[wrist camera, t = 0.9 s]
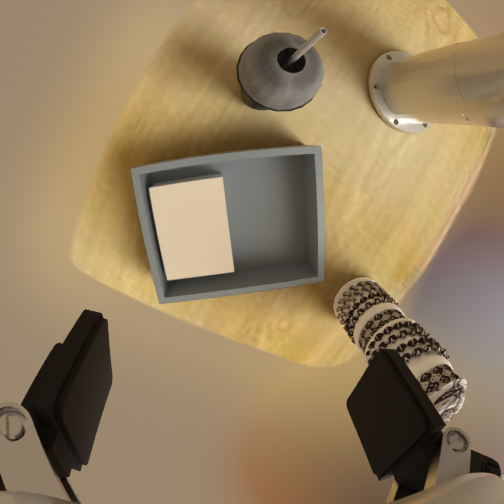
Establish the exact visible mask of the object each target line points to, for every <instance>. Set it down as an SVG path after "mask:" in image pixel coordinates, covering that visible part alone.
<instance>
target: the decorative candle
mask: <svg viewBox="0 0 504 504" xmlns="http://www.w3.org/2000/svg"><path fill="white" fill-rule="evenodd" d="M333 309H334V312H335V315H336V317H337V318H338V319H339V320H340V324H342V325H343V324H345V326H344V330H346V332H348V336H349V337H350V338H351V339H352V342H353V343H354V344H356V345H357V346H358V348H359V349H360V350H361V351H362V352H363V353H364V358H365V363H366V364H367V365H368V366H369V364H370V362H371V360H372V359H373V357H374V355H375V354H376V353H378V352H379V350H381V349H395V350H397V351H398V353H399V354H400V356H401V357H402V359H403V360H404V361H405V363H406V364H407V366H408V367H409V369H410V370H411V372H412V373H413V375H414V376H415V378H416V379H417V380H418V382H419V383H420V385H421V386H422V388H423V389H424V391H425V393H426V394H427V396H428V397H429V399H430V400H431V402H432V403H433V405H434V406H435V408H436V409H437V411H438V413H439V414H440V416H441V417H442V419H443V421H444V422H445V424H446V423H447V422H448V421H449V420H451V419H452V418H453V417H454V416H455V415H456V414H457V413H458V411H459V410H460V408H461V407H462V405H463V402H464V399H465V389H466V387H467V382H466V380H465V379H461V378H459V376H458V375H457V373H456V372H455V371H454V370H453V368H452V366H451V364H450V363H449V356H448V355H446V354H447V351H446V349H444V348H442V349H441V346H440V344H439V343H438V342H435V339H434V338H430V334H429V333H425V331H424V329H423V328H422V327H420V325H419V324H417V323H416V322H415V321H414V320H412V319H409V318H406V317H405V315H404V314H403V312H402V310H400V308H399V304H398V303H395V300H394V299H393V298H390V296H389V294H388V293H387V292H386V291H385V290H384V289H383V288H382V287H381V286H380V285H379V284H378V283H376V282H375V281H374V280H373V279H370V278H368V277H357V278H355V279H353V280H351V281H348V282H347V283H346V284H345V285H344V286H343V287H342V288H340V290H339V291H338V293H337V295H336V297H335V299H334V305H333ZM433 345H434V346H433ZM441 355H443V356H441Z"/></svg>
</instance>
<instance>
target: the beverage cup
mask: <svg viewBox="0 0 504 504" xmlns="http://www.w3.org/2000/svg"><path fill="white" fill-rule="evenodd" d="M325 34H327V30H326V28H324V27H321V28H320V29H318V30H317V31H316V32H315V33H314V34H313V35H312V36H311V37H310V38H309V39H308V40H307V41H306V40H305V39H303V38H302V37H300V36H297V35H293V34H290V33H271V34H267V35H264V36H261V37H260V38H258V39H257V40H255V41H254V42H252V43H251V44H249V45H248V46H247V47H246V48H245V49H244V51H243V52H242V53H241V55H240V57H239V60H238V64H237V79H238V81H239V84H240V86H241V94H242V97H243V100H244V102H245V103H246V104H247V105H248V106H249V107H251V108H253V109H256V110H273V111H292V110H295V109H298V108H301V107H303V106H304V105H306V104H307V103H308V102H310V101H311V100H312V99H313V97H314V96H315V94H316V93H317V92H318V90H319V88H320V87H321V84H322V80H323V76H324V71H323V62H322V60H321V58H320V55H319V53H318V52H317V50H316V49H315V48H314V47H313V45H314V44H315V43H316V42H317V41H319V40H320V39H321V38H322V37H323V36H324V35H325Z"/></svg>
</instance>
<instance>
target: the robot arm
mask: <svg viewBox="0 0 504 504" xmlns="http://www.w3.org/2000/svg"><path fill="white" fill-rule="evenodd" d="M368 86H369V93H370V97H371V100H372V102H373V105H374V107H375V109H376V110H377V112H378V114H379V115H380V116H381V118H382V119H383V120H384V121H385V122H386V123H387V124H388V125H389V126H391V127H392V128H394V129H395V130H398V131H400V132H403V133H408V134H416V133H421V132H423V131H425V130H427V129H428V128H429V127H430V126H431V125H432V124H433V123H434V124H457V125H471V126H483V127H493V128H504V33H502V34H497V35H493V36H489V37H484V38H480V39H475V40H470V41H466V42H461V43H457V44H453V45H449V46H445V47H441V48H437V49H433V50H429V51H426V52H422V53H419V54H416V55H410V54H408V53H405V52H402V51H390V52H387V53H384V54H383V55H381V56H379V57H378V58H377V59H376V60H375V61H374V63H373V64H372V66H371V68H370V72H369V78H368ZM374 87H375V88H374ZM111 385H112V368H111V359H110V348H109V334H108V321H107V319H104V318H103V315H102V313H99V312H95V311H90V310H87V309H86V310H84V311H83V312H82V314H81V315H80V317H79V318H78V320H77V322H76V323H75V325H74V326H73V328H72V329H71V331H70V333H69V334H68V336H67V337H66V339H65V341H64V342H63V344H61V343H57V344H56V345H55V346H54V347H53V349H52V350H51V352H50V354H49V355H48V357H47V359H46V360H45V362H44V364H43V365H42V367H41V369H40V370H39V372H38V374H37V376H36V377H35V379H34V381H33V383H32V385H31V386H30V388H29V390H28V392H27V394H26V396H25V398H24V399H23V401H22V403H21V405H19V404H17V403H13V402H3V403H0V504H82V503H81V501H80V499H79V498H78V496H77V494H76V493H75V491H74V489H73V487H72V485H71V484H70V482H69V480H68V478H67V477H69V476H70V472H71V469H75V470H78V471H81V467H82V464H83V465H87V464H88V461H89V458H90V454H91V450H92V446H93V443H94V440H95V436H96V432H97V429H98V426H99V422H100V419H101V416H102V412H103V410H104V406H105V403H106V400H107V397H108V394H109V391H110V388H111ZM347 409H348V411H349V414H350V416H351V419H352V421H353V424H354V426H355V428H356V431H357V433H358V436H359V438H360V440H361V443H362V445H363V448H364V451H365V453H366V455H367V458H368V461H369V463H370V466H371V468H372V471H373V473H374V474H375V475H377V477H378V479H379V481H380V480H384V479H388V478H390V477H391V476H393V475H394V477H395V480H394V482H393V485H392V488H391V491H390V494H389V496H388V499H387V501H386V504H504V474H503V473H502V474H501V470H500V466H499V464H498V463H497V462H496V461H495V460H493V459H492V458H489V457H487V456H485V455H482V454H480V453H478V452H475V451H473V450H471V442H470V439H469V437H468V436H467V435H466V433H465V432H464V431H462V430H461V429H459V428H455V427H450V428H448V429H446V430H445V431H444V432H443V433H442V432H441V430H442V429H443V428H444V427H445V425H446V424H445V422H444V421H443V419H442V417H441V416H440V414H439V413H438V411H437V409H436V408H435V406H434V405H433V403H432V402H431V400H430V399H429V397H428V396H427V394H426V393H425V391H424V389H423V388H422V386H421V385H420V383H419V382H418V380H417V379H416V378H415V376H414V375H413V373H412V372H411V370H410V369H409V367H408V366H407V364H406V363H405V361H404V360H403V359H402V357H401V356H400V354H399V353H398V351H397V350H395V349H381V350H379V352H378V353H376V354H375V355H374V357H373V359H372V360H371V362H370V364H369V366H368V367H367V369H366V371H365V372H364V374H363V376H362V377H361V379H360V381H359V382H358V384H357V386H356V387H355V388H354V390H353V392H352V393H351V395H350V396H349V398H348V399H347Z"/></svg>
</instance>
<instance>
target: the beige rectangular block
mask: <svg viewBox="0 0 504 504" xmlns="http://www.w3.org/2000/svg"><path fill="white" fill-rule="evenodd" d="M149 192H150V198H151V203H152V209H153V215H154V220H155V225H156V230H157V235H158V240H159V245H160V250H161V254H162V259H163V263H164V268H165V272H166V277H167V280H175V279H183V278H191V277H199V276H207V275H214V274H222V273H230V272H234V265H233V257H232V250H231V242H230V234H229V226H228V218H227V209H226V201H225V193H224V184H223V176H222V173H219V174H211V175H204V176H197V177H190V178H183V179H177V180H170V181H164V182H159V183H155V184H154V185H153V186H151V187H150V188H149Z"/></svg>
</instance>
